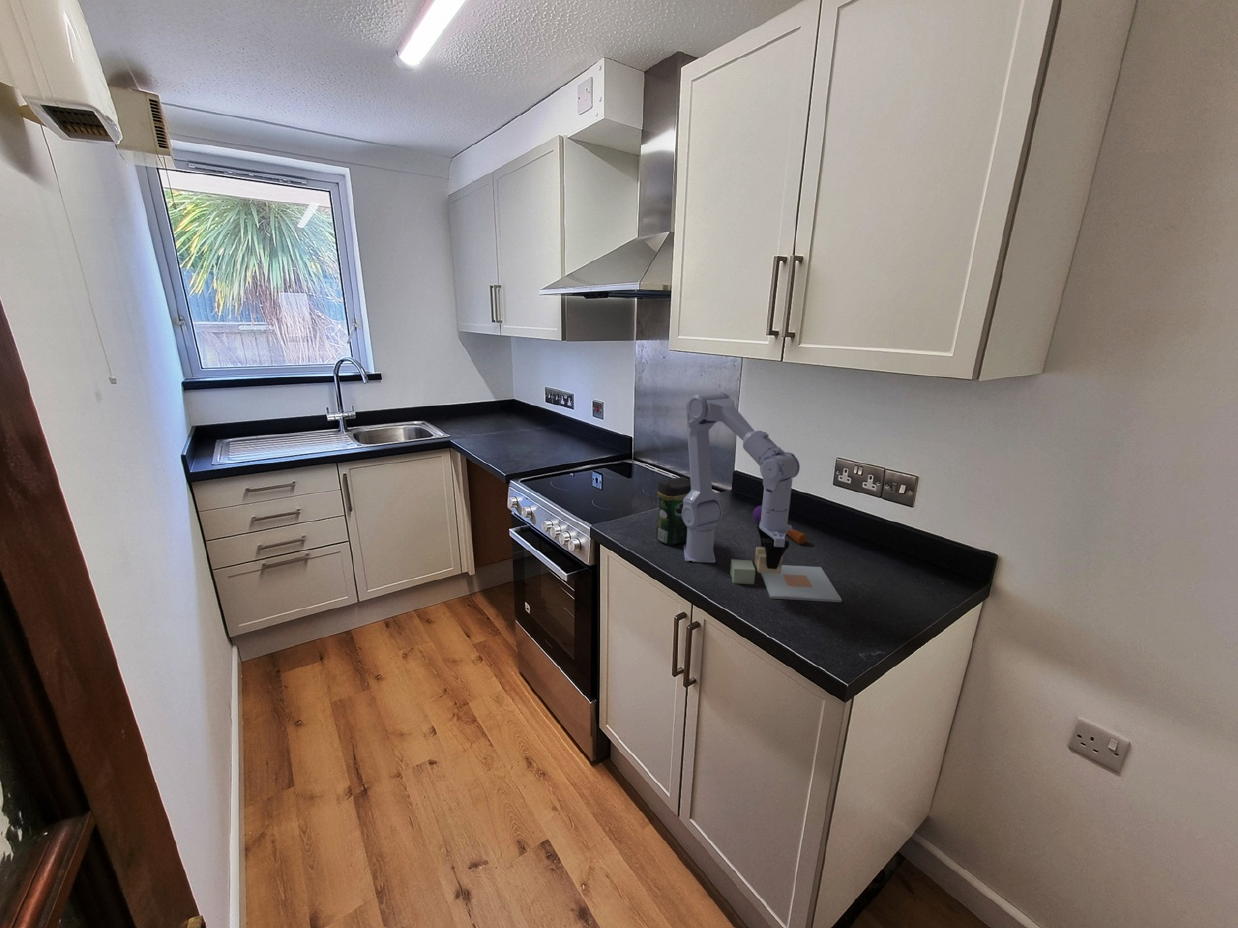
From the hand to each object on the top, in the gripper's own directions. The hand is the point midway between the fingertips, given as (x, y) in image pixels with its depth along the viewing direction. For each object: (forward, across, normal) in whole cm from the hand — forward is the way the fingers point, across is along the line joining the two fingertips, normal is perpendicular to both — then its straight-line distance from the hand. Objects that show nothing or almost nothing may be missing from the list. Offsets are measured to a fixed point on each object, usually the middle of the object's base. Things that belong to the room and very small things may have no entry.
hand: (769, 562), depth 116 cm
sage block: (+9, +7, +5) cm, 12 cm away
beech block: (+1, 0, 0) cm, 1 cm away
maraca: (+9, +38, -10) cm, 41 cm away
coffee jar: (+9, +28, +22) cm, 37 cm away
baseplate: (+8, +7, -9) cm, 14 cm away
